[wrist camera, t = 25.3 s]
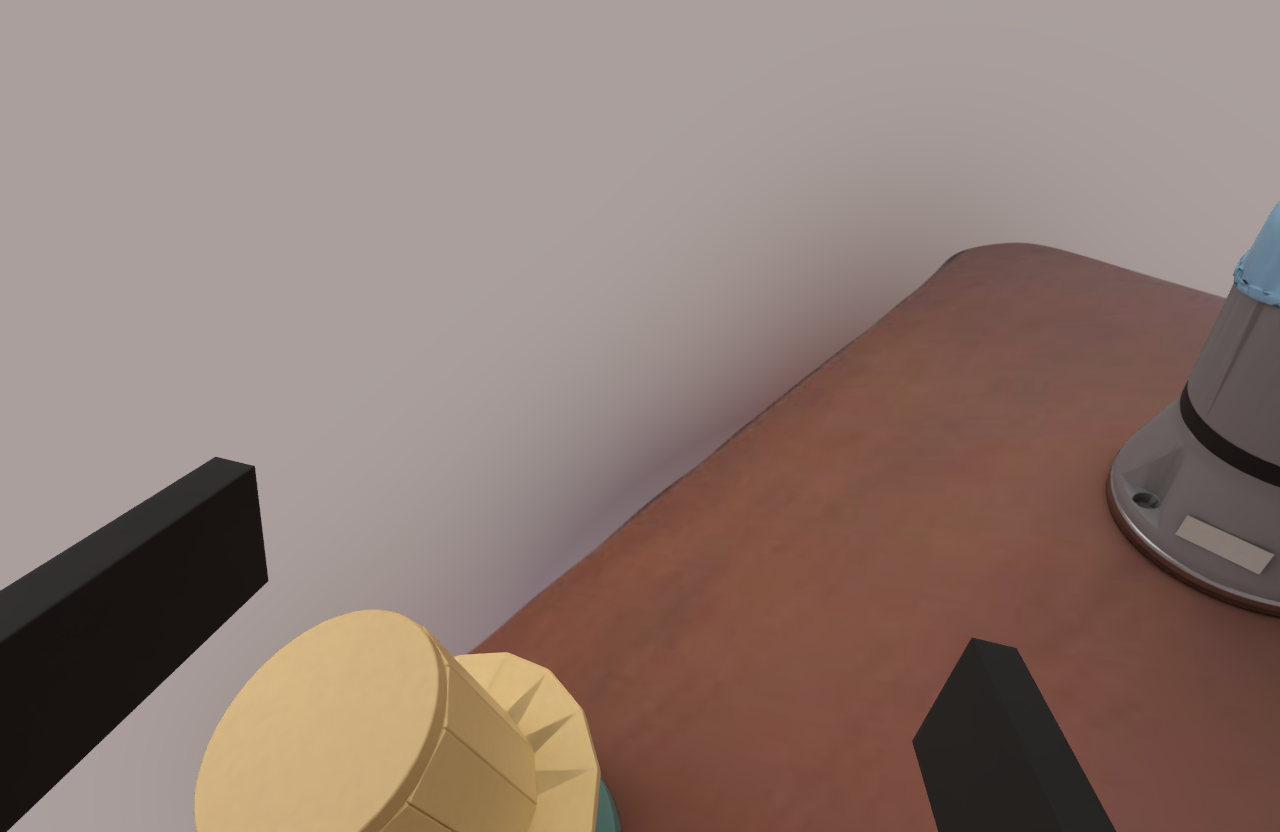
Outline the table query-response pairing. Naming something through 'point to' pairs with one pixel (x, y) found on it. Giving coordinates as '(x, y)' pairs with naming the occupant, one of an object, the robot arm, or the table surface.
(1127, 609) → the table surface
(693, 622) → the table surface
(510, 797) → the hat
